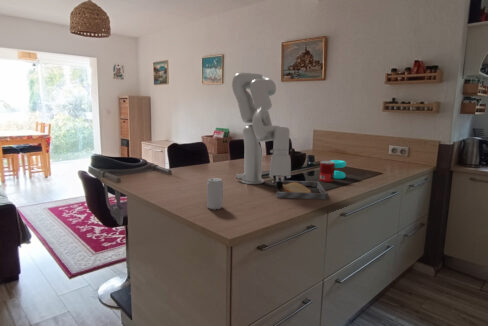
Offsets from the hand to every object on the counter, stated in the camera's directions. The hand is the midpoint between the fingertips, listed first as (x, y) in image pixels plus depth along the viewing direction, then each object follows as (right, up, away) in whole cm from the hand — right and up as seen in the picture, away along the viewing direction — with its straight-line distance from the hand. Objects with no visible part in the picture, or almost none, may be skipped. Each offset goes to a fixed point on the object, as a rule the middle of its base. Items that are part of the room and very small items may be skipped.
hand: (279, 188), depth 162 cm
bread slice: (+8, -2, +1) cm, 9 cm away
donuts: (+38, +4, +34) cm, 51 cm away
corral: (+9, -1, 0) cm, 9 cm away
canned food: (+29, +3, +24) cm, 38 cm away
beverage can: (-30, -6, -28) cm, 41 cm away
